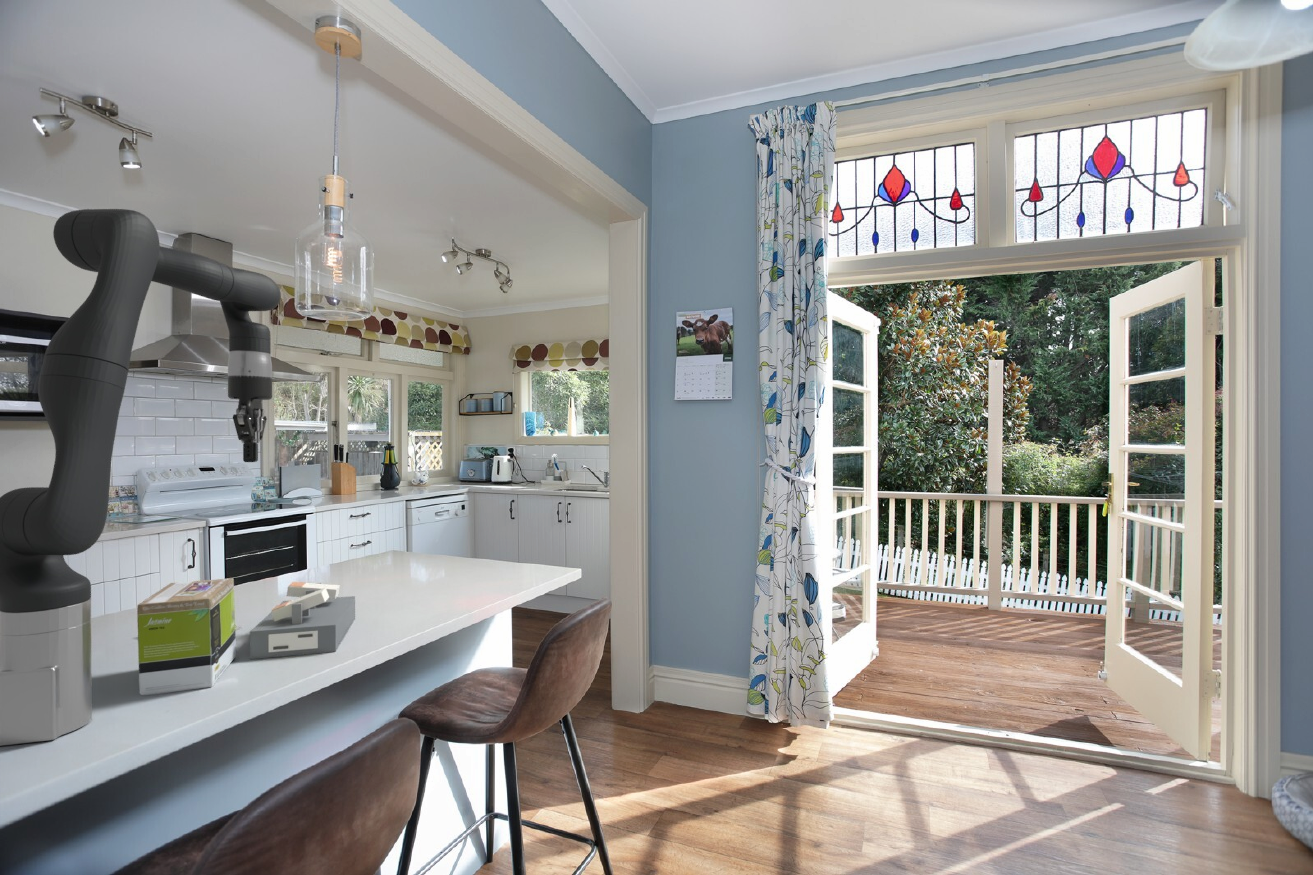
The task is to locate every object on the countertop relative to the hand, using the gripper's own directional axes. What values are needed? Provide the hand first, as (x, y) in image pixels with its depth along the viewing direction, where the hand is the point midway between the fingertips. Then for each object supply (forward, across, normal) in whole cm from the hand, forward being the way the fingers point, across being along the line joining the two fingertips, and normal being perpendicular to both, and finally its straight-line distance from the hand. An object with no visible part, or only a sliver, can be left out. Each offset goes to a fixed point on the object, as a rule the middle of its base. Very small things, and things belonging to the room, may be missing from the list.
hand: (250, 461), depth 128 cm
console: (+35, -4, -11) cm, 37 cm away
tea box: (+35, -21, +3) cm, 41 cm away
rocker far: (+27, +2, -11) cm, 29 cm away
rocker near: (+27, -10, -11) cm, 31 cm away
